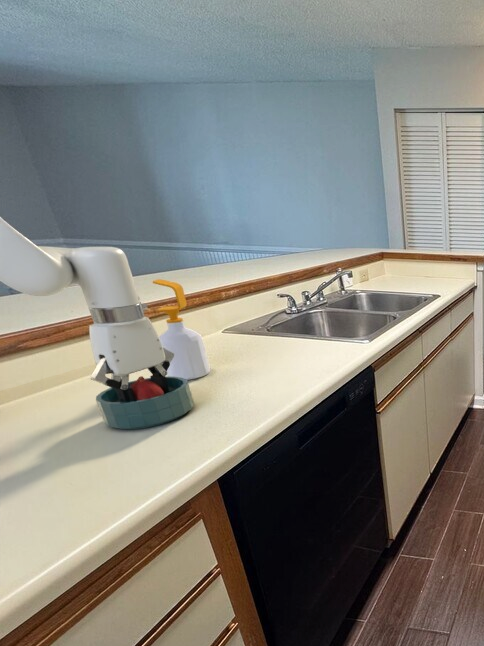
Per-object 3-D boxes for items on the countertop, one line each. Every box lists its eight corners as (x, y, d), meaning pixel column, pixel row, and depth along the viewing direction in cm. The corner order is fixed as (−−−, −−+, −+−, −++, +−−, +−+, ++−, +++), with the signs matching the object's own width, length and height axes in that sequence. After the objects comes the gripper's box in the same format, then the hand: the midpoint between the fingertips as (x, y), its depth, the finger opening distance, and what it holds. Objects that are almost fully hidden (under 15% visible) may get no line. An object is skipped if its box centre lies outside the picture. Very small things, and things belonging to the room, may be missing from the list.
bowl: (87, 426, 84) (75, 399, 82) (159, 398, 97) (151, 373, 95) (144, 435, 81) (135, 407, 79) (211, 405, 94) (204, 380, 92)
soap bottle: (176, 370, 114) (149, 277, 104) (215, 367, 116) (191, 277, 107) (162, 382, 106) (131, 283, 96) (204, 379, 108) (177, 282, 99)
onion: (127, 419, 85) (114, 382, 82) (142, 407, 91) (130, 372, 88) (160, 416, 87) (149, 380, 84) (173, 404, 92) (162, 370, 89)
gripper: (148, 304, 89) (172, 383, 96) (49, 323, 74) (86, 415, 81) (176, 306, 88) (199, 386, 95) (81, 326, 72) (116, 420, 79)
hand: (146, 399), depth 88 cm, fingers closed on onion, 5 cm apart
